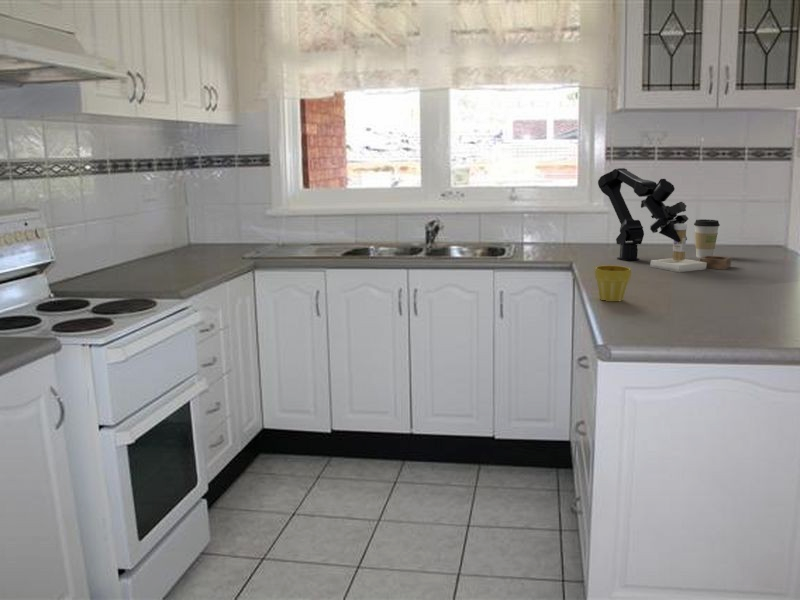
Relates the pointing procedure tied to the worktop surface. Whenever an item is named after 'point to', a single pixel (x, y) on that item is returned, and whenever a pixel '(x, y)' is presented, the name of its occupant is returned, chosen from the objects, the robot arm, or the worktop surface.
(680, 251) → the sprinkles bottle
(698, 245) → the coffee cup
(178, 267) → the worktop surface
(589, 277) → the worktop surface
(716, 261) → the walnut holder
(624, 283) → the plant pot
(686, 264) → the cream tray
